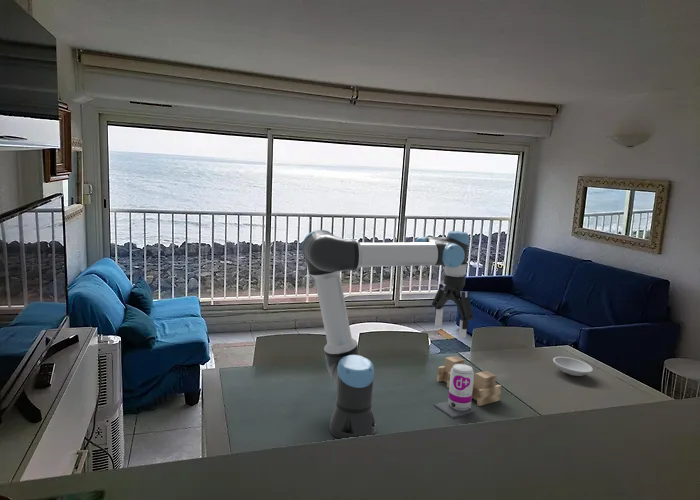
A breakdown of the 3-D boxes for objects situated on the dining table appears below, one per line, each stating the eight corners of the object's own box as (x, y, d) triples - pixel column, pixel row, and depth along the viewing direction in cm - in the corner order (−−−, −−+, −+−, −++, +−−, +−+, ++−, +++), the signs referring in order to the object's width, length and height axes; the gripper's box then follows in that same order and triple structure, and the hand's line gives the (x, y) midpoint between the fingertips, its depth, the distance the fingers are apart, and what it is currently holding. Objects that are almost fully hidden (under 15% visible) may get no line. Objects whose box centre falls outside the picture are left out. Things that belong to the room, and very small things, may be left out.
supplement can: (469, 413, 174) (473, 373, 172) (446, 408, 177) (449, 369, 174) (471, 403, 181) (475, 365, 179) (449, 399, 184) (453, 361, 182)
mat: (452, 418, 171) (452, 416, 171) (434, 405, 180) (434, 404, 179) (473, 412, 176) (473, 410, 176) (454, 400, 185) (455, 399, 184)
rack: (478, 405, 181) (481, 380, 180) (436, 380, 202) (438, 357, 200) (500, 400, 187) (502, 375, 185) (457, 376, 207) (459, 354, 206)
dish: (599, 381, 210) (601, 370, 209) (573, 384, 205) (575, 373, 204) (568, 365, 226) (570, 355, 226) (543, 368, 221) (545, 358, 221)
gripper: (487, 281, 166) (481, 341, 170) (441, 267, 188) (436, 320, 191) (470, 282, 163) (464, 343, 166) (425, 268, 184) (421, 322, 188)
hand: (449, 331), depth 179 cm, fingers open, 13 cm apart
